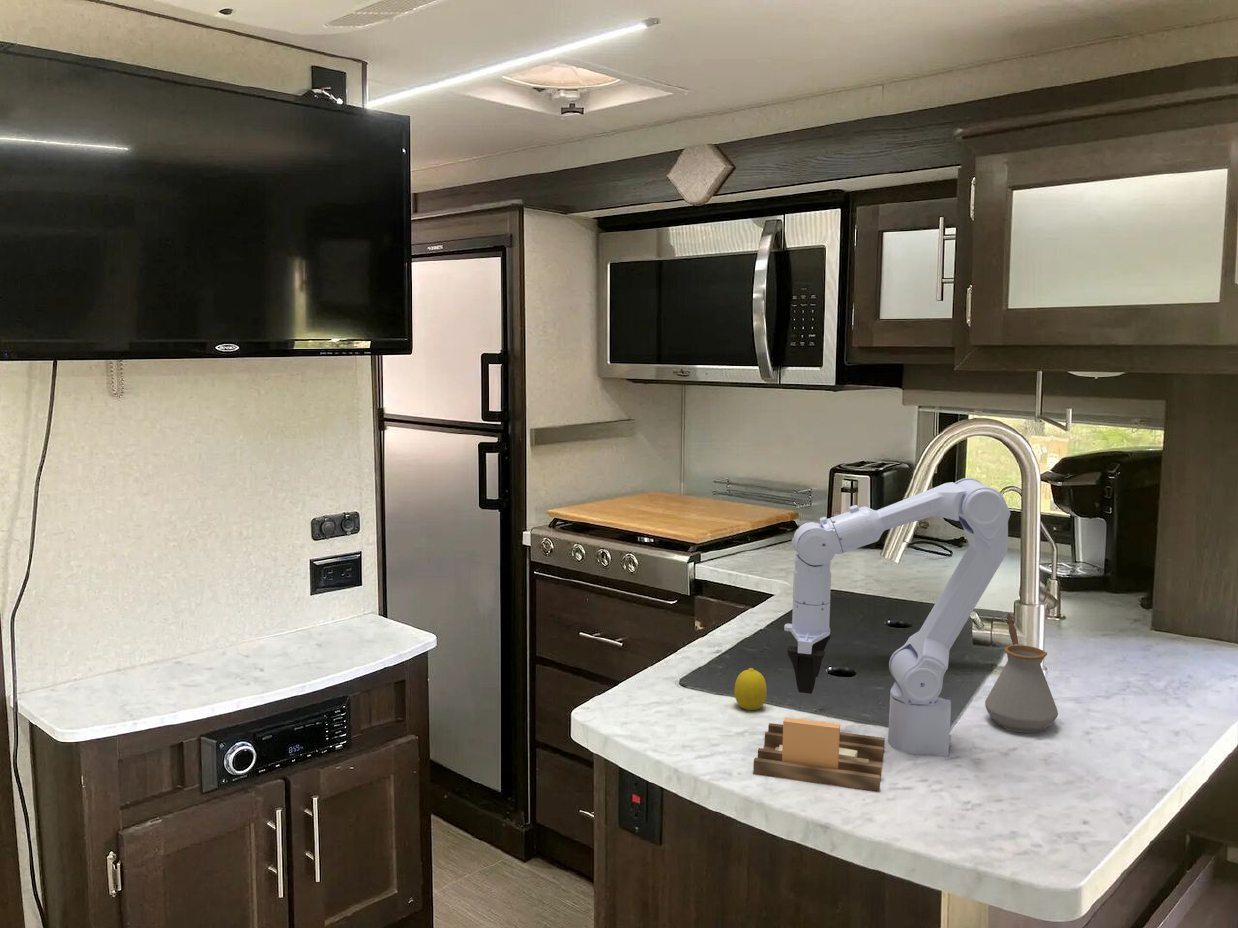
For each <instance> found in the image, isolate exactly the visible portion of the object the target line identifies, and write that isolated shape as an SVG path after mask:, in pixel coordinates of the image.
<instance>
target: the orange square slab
mask: <svg viewBox="0 0 1238 928" xmlns="http://www.w3.org/2000/svg"><path fill="white" fill-rule="evenodd" d="M782 725H783V747H782V762H789V763H797V764H804V765H811V766H818V767H825V768H832V769H838V761H839V737H840V732H841V729H840V728H841V724H840V723H835V722H825V721H818V720H809V719H803V718H796V717H795V718H793V717H786V716H785V717H784V719H783V724H782Z"/></svg>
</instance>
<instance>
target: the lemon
mask: <svg viewBox="0 0 1238 928" xmlns="http://www.w3.org/2000/svg"><path fill="white" fill-rule="evenodd" d="M767 688H768V687H767V682H766V679H765V677H764V676H763V674H762V673H761V672H759V671H758V670H756V669H754V668H753V667H749V668H748V669H745V670H743V671H742V672H740V673H739V674H738V676H737V678H736V680H735V684H734V697H735V700H736V703H737V704H738V705H739V707H740V708H742V709H744V710H747V711H756V710H758V709H760V708H761V707H762V706H763V705H764V703H765V702H766V699H767V696H768V695H767Z"/></svg>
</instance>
